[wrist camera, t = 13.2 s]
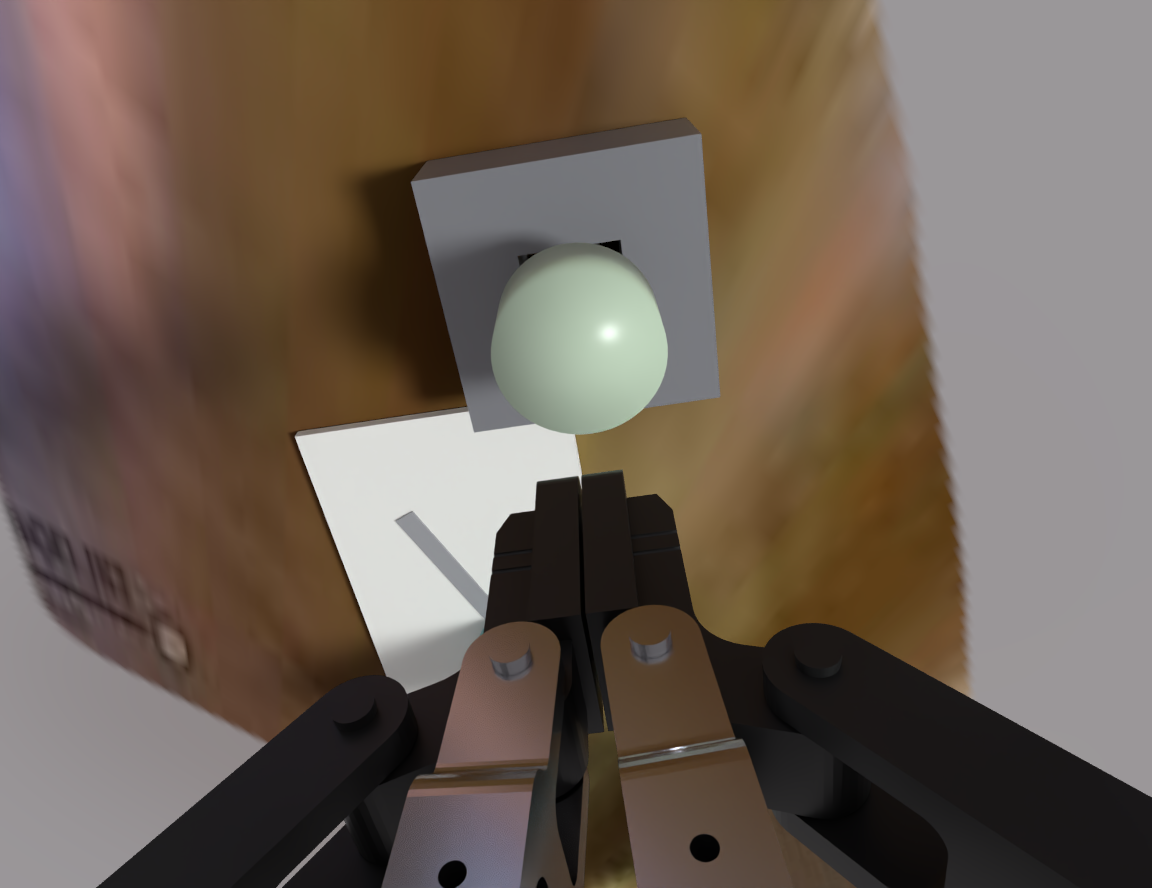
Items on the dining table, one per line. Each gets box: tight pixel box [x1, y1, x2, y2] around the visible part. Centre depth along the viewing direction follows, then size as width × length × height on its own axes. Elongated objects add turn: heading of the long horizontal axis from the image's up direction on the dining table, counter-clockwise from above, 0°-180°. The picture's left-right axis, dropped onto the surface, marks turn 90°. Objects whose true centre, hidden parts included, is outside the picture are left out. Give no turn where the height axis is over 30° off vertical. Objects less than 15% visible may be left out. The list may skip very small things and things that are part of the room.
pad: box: [295, 407, 582, 694], centre depth 32 cm, size 15×10×1 cm, turn 9°
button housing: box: [411, 118, 720, 432], centre depth 25 cm, size 8×8×3 cm
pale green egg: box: [491, 242, 668, 434], centre depth 22 cm, size 4×4×6 cm
